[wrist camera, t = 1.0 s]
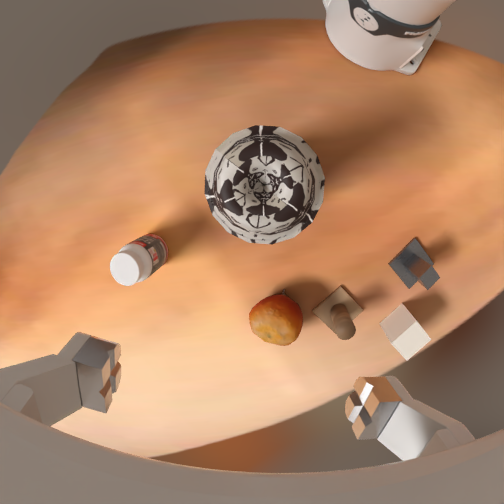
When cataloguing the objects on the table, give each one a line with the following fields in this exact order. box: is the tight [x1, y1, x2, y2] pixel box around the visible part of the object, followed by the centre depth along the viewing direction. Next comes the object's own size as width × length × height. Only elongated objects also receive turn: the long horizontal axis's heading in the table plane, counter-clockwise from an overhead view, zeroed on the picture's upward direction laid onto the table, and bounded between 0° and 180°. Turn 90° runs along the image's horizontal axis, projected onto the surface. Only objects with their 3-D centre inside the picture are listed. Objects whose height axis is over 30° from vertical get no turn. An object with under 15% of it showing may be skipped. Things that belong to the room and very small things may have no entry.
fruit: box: [249, 289, 303, 346], centre depth 45 cm, size 8×8×8 cm
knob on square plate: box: [312, 286, 363, 340], centre depth 43 cm, size 6×6×7 cm
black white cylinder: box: [205, 125, 325, 244], centre depth 30 cm, size 9×9×25 cm
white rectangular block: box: [379, 303, 431, 360], centre depth 43 cm, size 5×5×7 cm
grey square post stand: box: [388, 238, 440, 290], centre depth 40 cm, size 6×6×7 cm
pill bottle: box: [110, 234, 168, 286], centre depth 42 cm, size 6×6×10 cm
